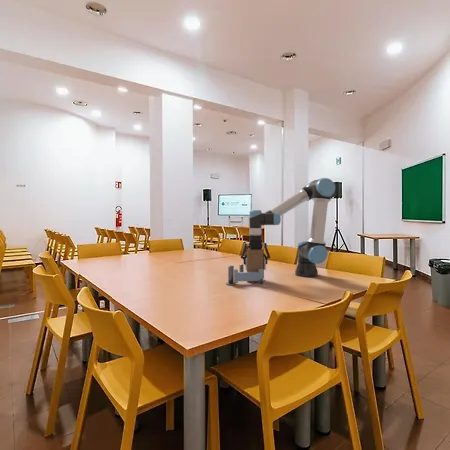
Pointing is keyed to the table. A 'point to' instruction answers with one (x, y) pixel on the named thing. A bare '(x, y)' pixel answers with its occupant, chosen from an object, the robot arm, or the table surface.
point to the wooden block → (255, 261)
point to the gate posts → (231, 274)
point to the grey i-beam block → (248, 276)
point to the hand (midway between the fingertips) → (255, 269)
